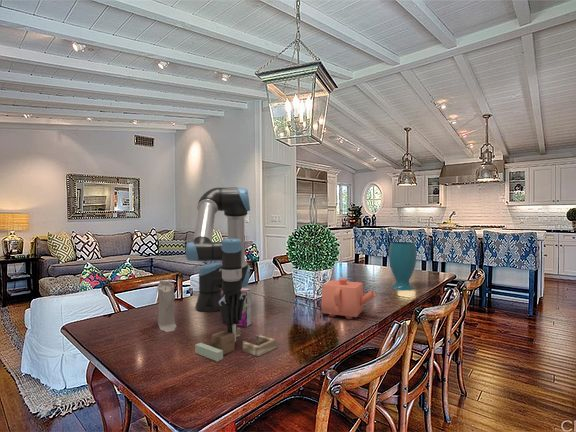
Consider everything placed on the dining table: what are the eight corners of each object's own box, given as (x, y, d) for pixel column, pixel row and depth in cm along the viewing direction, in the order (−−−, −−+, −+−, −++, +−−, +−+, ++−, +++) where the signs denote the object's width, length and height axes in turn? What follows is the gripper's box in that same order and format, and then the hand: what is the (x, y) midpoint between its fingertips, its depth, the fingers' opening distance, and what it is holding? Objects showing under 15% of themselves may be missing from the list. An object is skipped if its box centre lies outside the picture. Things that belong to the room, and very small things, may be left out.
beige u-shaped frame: (217, 342, 136) (217, 335, 136) (237, 334, 144) (237, 327, 144) (258, 356, 123) (258, 348, 123) (278, 346, 131) (277, 338, 131)
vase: (420, 291, 222) (420, 244, 221) (393, 290, 222) (393, 244, 221) (410, 285, 239) (411, 241, 238) (385, 285, 239) (385, 241, 239)
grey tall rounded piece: (161, 333, 147) (160, 285, 146) (157, 323, 159) (156, 280, 159) (178, 330, 150) (178, 284, 150) (173, 321, 162) (173, 278, 162)
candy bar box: (224, 325, 157) (224, 288, 156) (229, 321, 161) (229, 286, 161) (246, 327, 153) (246, 290, 153) (251, 324, 158) (251, 288, 157)
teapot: (379, 312, 176) (379, 277, 175) (370, 325, 155) (370, 286, 155) (332, 306, 186) (332, 273, 186) (318, 318, 166) (318, 281, 165)
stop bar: (195, 352, 126) (195, 344, 126) (200, 350, 128) (200, 342, 128) (217, 361, 119) (217, 352, 119) (222, 359, 121) (222, 350, 121)
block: (211, 351, 128) (211, 335, 127) (223, 346, 132) (223, 330, 132) (222, 355, 124) (222, 338, 124) (234, 349, 129) (234, 333, 129)
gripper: (225, 283, 124) (226, 348, 125) (250, 277, 135) (251, 338, 135) (212, 281, 129) (212, 344, 129) (237, 275, 139) (237, 334, 140)
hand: (232, 340), depth 132 cm, fingers closed
